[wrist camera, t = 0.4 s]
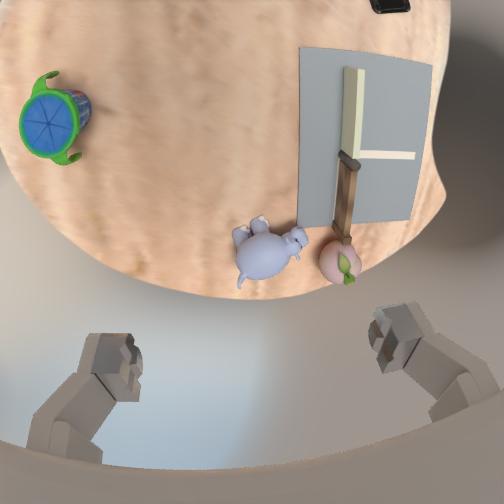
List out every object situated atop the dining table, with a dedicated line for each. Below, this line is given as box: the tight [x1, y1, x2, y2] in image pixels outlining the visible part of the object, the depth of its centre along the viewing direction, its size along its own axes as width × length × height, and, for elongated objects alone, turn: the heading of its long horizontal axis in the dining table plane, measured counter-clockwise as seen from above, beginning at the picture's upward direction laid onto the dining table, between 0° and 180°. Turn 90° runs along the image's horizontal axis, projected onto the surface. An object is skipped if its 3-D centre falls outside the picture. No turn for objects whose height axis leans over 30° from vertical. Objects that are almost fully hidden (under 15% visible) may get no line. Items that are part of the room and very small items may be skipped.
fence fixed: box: [332, 150, 361, 246], centre depth 54 cm, size 16×2×7 cm, turn 2°
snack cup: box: [19, 71, 91, 165], centre depth 38 cm, size 16×10×10 cm
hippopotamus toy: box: [232, 215, 309, 289], centre depth 58 cm, size 11×15×10 cm
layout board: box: [297, 47, 432, 228], centre depth 51 cm, size 34×26×1 cm
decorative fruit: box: [319, 240, 362, 285], centre depth 61 cm, size 9×8×10 cm
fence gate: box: [341, 67, 365, 159], centre depth 44 cm, size 15×1×6 cm, turn 2°
